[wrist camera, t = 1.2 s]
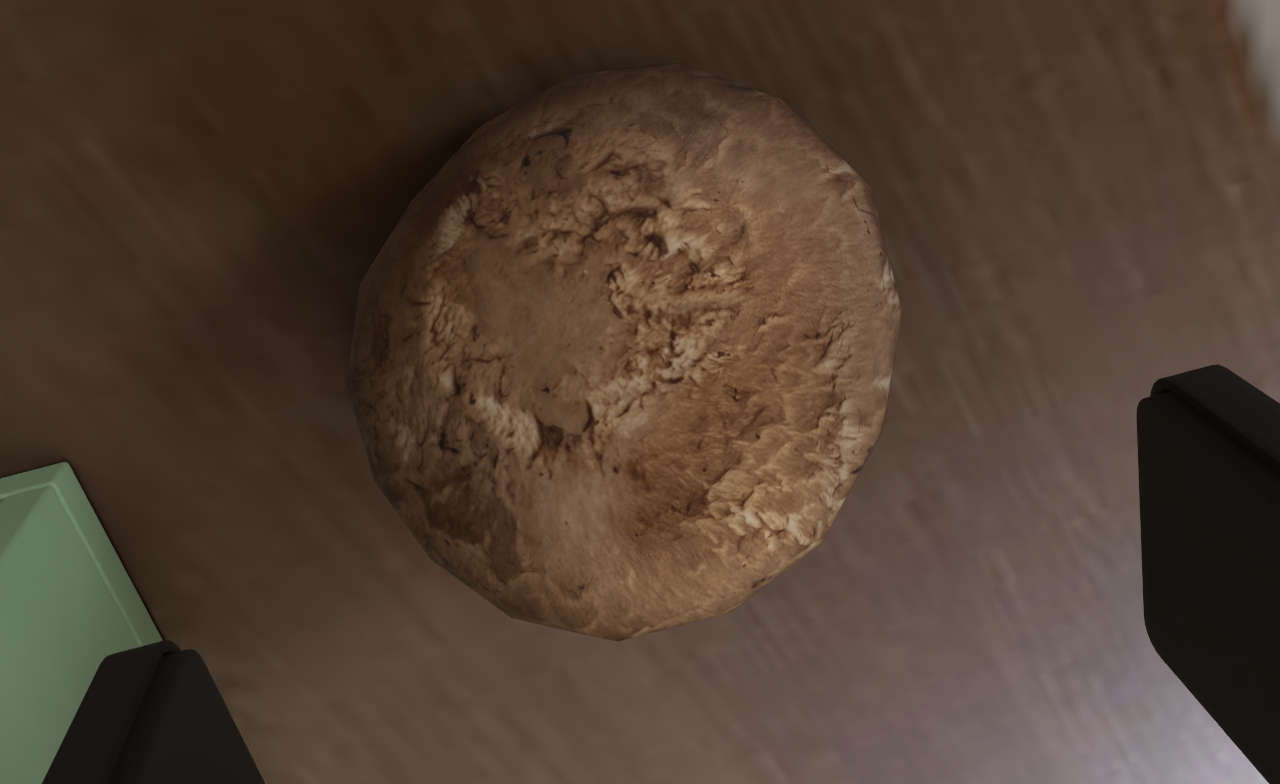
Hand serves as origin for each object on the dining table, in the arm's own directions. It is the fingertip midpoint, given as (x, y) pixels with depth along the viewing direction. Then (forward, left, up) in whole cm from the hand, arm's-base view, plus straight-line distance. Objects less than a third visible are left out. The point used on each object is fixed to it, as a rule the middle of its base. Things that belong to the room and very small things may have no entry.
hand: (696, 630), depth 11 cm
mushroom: (-1, 0, -9) cm, 9 cm away
